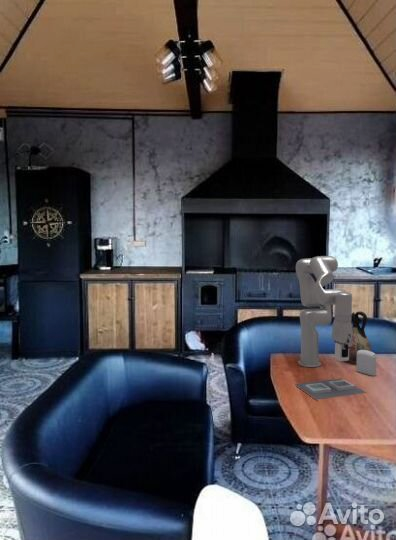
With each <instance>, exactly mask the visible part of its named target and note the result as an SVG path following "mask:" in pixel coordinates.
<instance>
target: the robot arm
mask: <svg viewBox="0 0 396 540" xmlns="http://www.w3.org/2000/svg"><path fill="white" fill-rule="evenodd" d="M338 266H339V262H338V260H337V258H336V257H335V256H333V255H332V256H331V255H320V256H319V255H317V256H314V257H312V258H311V257H309V258H301V259H299V260H297V262H296V263H295V272H296V276H297V279H298V283H299V290H300V291H299V292H300V293H299V294H300V299H301V300H300V302H301V305H302V306H304V307H307V308H306V309H303V310H301V311H300V313H299V323H300V333H301V334H300V336H301V338H300V340H301V341H300V343H301V344H300V354H299V357H300V359H299V360H298V361H297V363H298V366H301V367H305V368H318V367H321V365H322V363H321V361H320V360H319V339H320V338H319V336H320V335H319V332H318V330H317V328H315V327H317V326H320V327H321V326H322V327H323V326H329V325H330V324H331V323H332V318H333V317H332V306H334V319H333V323H332V330H331V331H332V332H331V338H332V340H333V341H334V343H337V342H340V343H342V344H343V349H342V357H348V349H349V347H350V346H352V345H353V344H352V326H353V323H352V320H351V317H352V313H353V303H352V302H353V294H352V293H351V292H349V291H346V290H345V289H342V288H340V289H339V288H338V289H337V288H334V289H330V288H329V289H325V288H323V287H325V286H327V285H329V284H331V283H332V281H333V280H334V277H335V276H334V272H335V271H336V272H337V269H338ZM310 274H313V275H314V277H315V279H316V281H315V279H314V278H313V277H312V275H310ZM309 307H319V308H309ZM345 344H347V345H346V346H345Z"/></svg>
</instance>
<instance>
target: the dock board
mask: <svg viewBox="0 0 396 540" xmlns="http://www.w3.org/2000/svg"><path fill="white" fill-rule="evenodd" d="M295 386H296V388H297V389H298V388H299V390H300V391H301V390H302V391H301V392H303V393H304V392H305V393H304V394H306V395H307V396H308V395H309V397H310V398H311V397H312V399H313V400H314V401H316V402H319V400H325V399H332V398H338V397H343V396H345V397H346V396H352V395H359V394H360V395H361V394H366V393H367V391H365V390H363V389H362V388H359V387H358V386H356V385H355V384H353V383H351V382H349V381H347V380H346V379H342V378H332V379H327V380H326V379H325V380H319V381H318V380H317V381H310V382H309V381H308V382H302V383H301V382H300V383H295V384H294V387H295Z"/></svg>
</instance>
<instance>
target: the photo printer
mask: <svg viewBox="0 0 396 540" xmlns="http://www.w3.org/2000/svg"><path fill="white" fill-rule="evenodd" d="M355 365H356V367H355V368H356V373H359V374H364V375H368V376H373V377H374V376H376V375H377V354H376V353H375V352H373V351H368V350H359V351H357V361H356V363H355Z"/></svg>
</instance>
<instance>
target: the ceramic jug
mask: <svg viewBox="0 0 396 540" xmlns="http://www.w3.org/2000/svg"><path fill="white" fill-rule="evenodd" d="M359 316H361V317H362V319H363V321H362V320H361V318H360V317H359ZM367 321H368V316H367V314H366V313H365V312H363V311H357V312H354V311H352V317H351V322H352V344H353V345H352V346H350V347H349V360H347V362H348V363H352V364H356V361H357V351H359V350H368V351H371V350H372V349H371V344H370V340H369V338H368V336H367V334H366V332H365V328H366V325H367ZM360 323H362V324H361V325H360ZM371 352H372V351H371Z"/></svg>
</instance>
